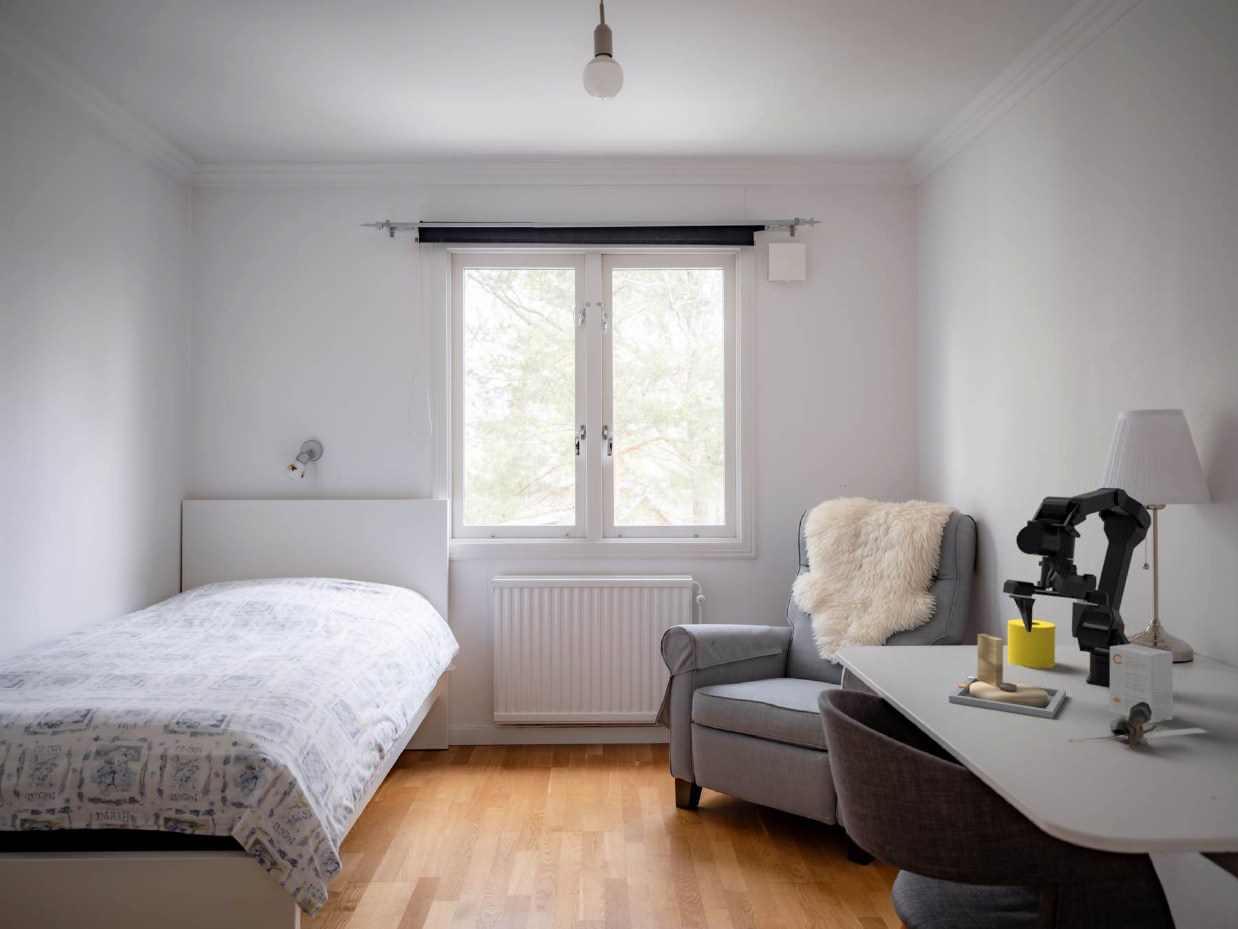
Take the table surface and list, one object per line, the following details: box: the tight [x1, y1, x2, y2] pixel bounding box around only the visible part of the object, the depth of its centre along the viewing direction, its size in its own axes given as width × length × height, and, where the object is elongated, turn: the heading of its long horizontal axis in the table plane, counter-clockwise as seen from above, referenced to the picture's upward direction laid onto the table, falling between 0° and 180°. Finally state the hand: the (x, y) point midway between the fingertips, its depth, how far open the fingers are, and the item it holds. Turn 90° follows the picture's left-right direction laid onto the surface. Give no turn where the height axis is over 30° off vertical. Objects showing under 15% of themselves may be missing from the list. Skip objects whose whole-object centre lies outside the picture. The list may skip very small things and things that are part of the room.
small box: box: [1109, 643, 1174, 724], centre depth 156 cm, size 8×6×13 cm
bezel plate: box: [948, 676, 1067, 720], centre depth 166 cm, size 18×18×2 cm
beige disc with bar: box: [970, 633, 1048, 708], centre depth 166 cm, size 15×14×11 cm
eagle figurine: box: [1109, 702, 1158, 749], centre depth 143 cm, size 8×7×9 cm
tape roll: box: [1007, 618, 1056, 669], centre depth 199 cm, size 10×10×9 cm
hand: (1051, 634), depth 171 cm, fingers open, 9 cm apart
